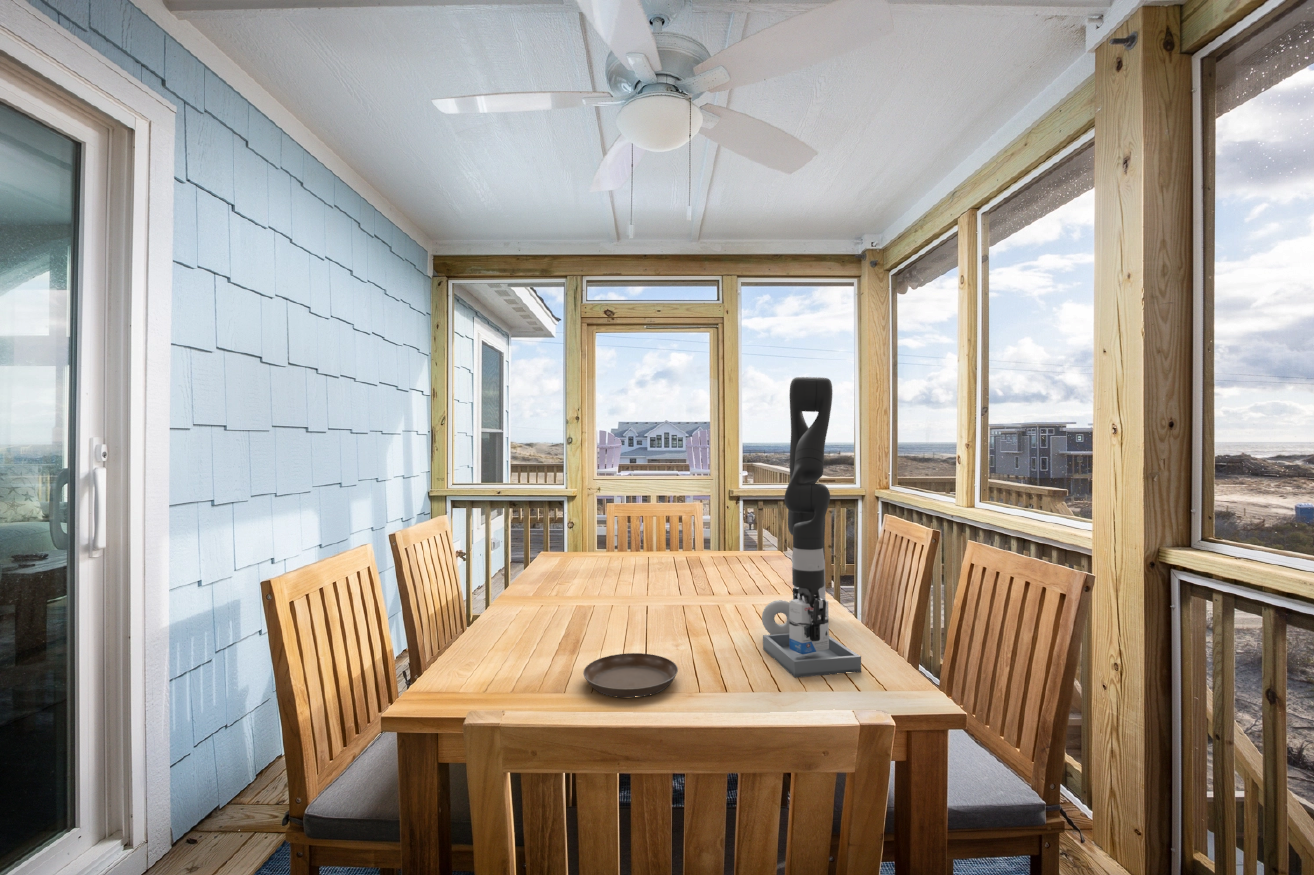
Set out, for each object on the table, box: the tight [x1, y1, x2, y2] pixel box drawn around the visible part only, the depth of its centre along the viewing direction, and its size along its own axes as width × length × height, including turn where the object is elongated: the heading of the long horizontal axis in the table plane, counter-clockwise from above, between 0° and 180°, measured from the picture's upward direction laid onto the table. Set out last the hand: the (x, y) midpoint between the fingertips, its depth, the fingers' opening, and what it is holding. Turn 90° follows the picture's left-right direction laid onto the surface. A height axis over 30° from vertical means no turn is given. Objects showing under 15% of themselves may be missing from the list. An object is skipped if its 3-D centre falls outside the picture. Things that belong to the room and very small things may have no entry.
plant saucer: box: [583, 652, 679, 698], centre depth 137 cm, size 21×21×3 cm
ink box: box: [788, 598, 830, 654], centre depth 150 cm, size 8×5×12 cm, turn 117°
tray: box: [762, 633, 862, 679], centre depth 150 cm, size 20×16×4 cm
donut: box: [761, 599, 789, 635], centre depth 168 cm, size 10×4×10 cm, turn 81°
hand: (809, 636), depth 150 cm, fingers closed on ink box, 5 cm apart
